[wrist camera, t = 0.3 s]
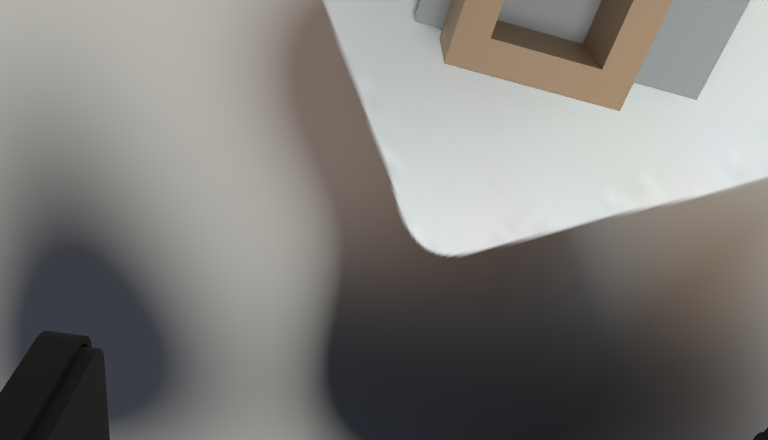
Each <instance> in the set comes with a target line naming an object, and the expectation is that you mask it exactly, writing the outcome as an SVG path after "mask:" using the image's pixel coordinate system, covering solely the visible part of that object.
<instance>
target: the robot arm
mask: <svg viewBox="0 0 768 440" xmlns="http://www.w3.org/2000/svg"><path fill="white" fill-rule="evenodd" d="M107 411H108V409H107V394H106V380H105V366H104V354H103V351H102V349H98V348H92V346H91V340H90V338H89V337H88V336H82V335H74V334H67V333H59V332H51V331H44V332H42V333H40V335H39V336H38V337H37V338H36V340H35V341H34V343H33V344H32V346H31V347H30V349H29V350H28V352H27V353H26V355H25V356H24V358H23V359H22V361H21V362H20V364H19V365H18V367H17V368H16V370H15V371H14V373H13V374H12V376H11V377H10V379H9V380H8V382H7V383H6V385H5V386H4V388H3V389H2V391H1V392H0V440H110V438H109V423H108V412H107ZM753 440H768V428H767V429H766V430H765V431H764V432H761V433H759V434H757V435H756V436H755V437H754V439H753Z"/></svg>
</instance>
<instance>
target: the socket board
mask: <svg viewBox="0 0 768 440" xmlns="http://www.w3.org/2000/svg"><path fill="white" fill-rule="evenodd" d="M749 1H750V0H419V2H418V5H417V9H416V12H415V15H414V18H415V21H416V22H420V23H423V24H427V25H430V26H434V27H437V28H441V29H442V32H441V35H440V43H441V48H442V53H443V59H444V63H446V64H449V65H453V66H457V67H460V68H464V69H468V70H471V71H475V72H479V73H482V74H486V75H490V76H493V77H497V78H501V79H504V80H508V81H512V82H515V83H519V84H523V85H526V86H530V87H534V88H537V89H541V90H545V91H548V92H552V93H556V94H559V95H563V96H566V97H570V98H574V99H577V100H581V101H585V102H588V103H592V104H596V105H599V106H603V107H607V108H610V109H614V110H618V111H620V109H621V107H622V105H623V103H624V101H625V99H626V97H627V95H628V93H629V91H630V89H631V86H632V84H633V82H634V83H638V84H642V85H645V86H649V87H652V88H656V89H659V90H663V91H667V92H670V93H674V94H677V95H681V96H685V97H688V98H692V99H695V100H697V98H698V96H699V94H700V92H701V90H702V88H703V87H704V85H705V83H706V81H707V79H708V77H709V75H710V74H711V72H712V70H713V68H714V66H715V64H716V62H717V61H718V59H719V57H720V55H721V53H722V51H723V49H724V48H725V46H726V44H727V42H728V40H729V38H730V37H731V35H732V33H733V31H734V29H735V27H736V25H737V24H738V22H739V20H740V18H741V16H742V14H743V12H744V11H745V9H746V7H747V5H748V3H749Z"/></svg>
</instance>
